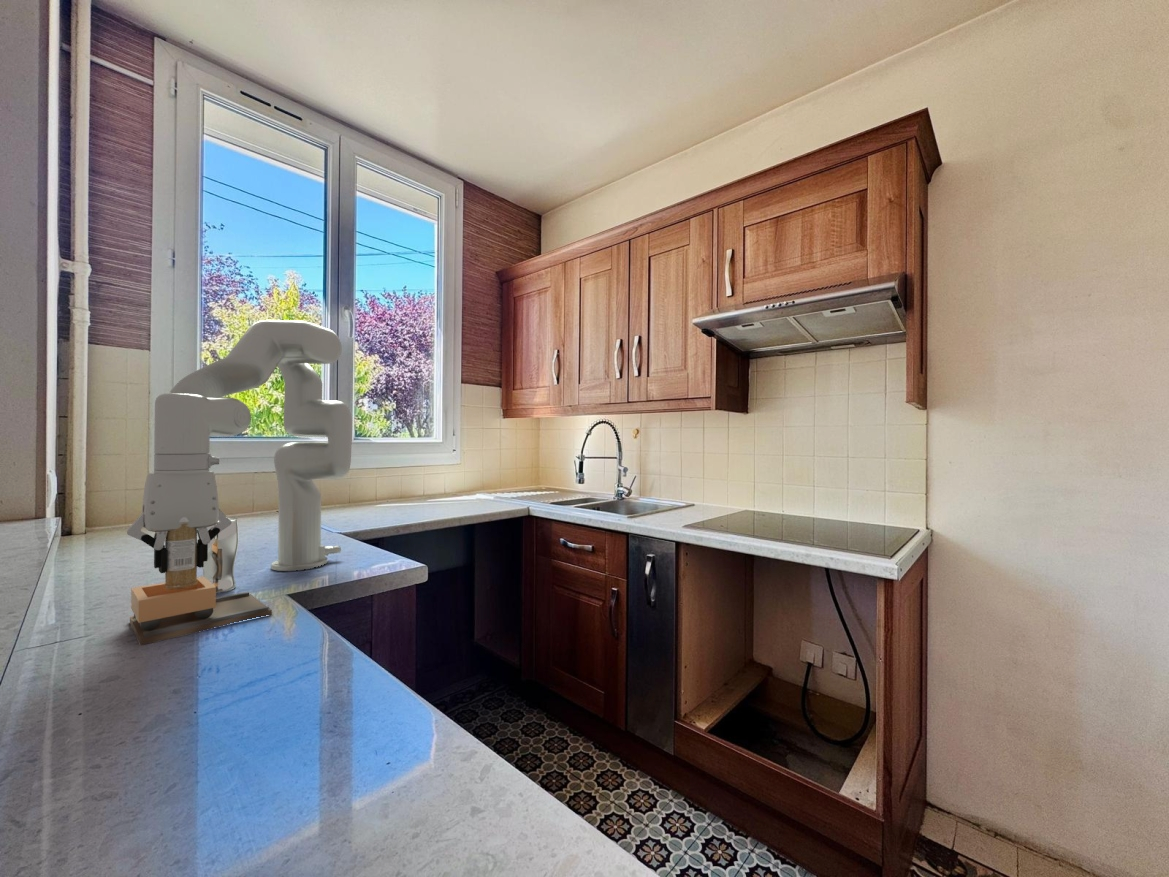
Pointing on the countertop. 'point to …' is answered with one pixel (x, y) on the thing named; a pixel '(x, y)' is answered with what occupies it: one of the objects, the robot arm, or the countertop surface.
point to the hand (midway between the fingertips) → (181, 567)
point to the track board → (188, 623)
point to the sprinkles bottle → (181, 557)
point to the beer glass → (222, 557)
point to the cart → (171, 602)
